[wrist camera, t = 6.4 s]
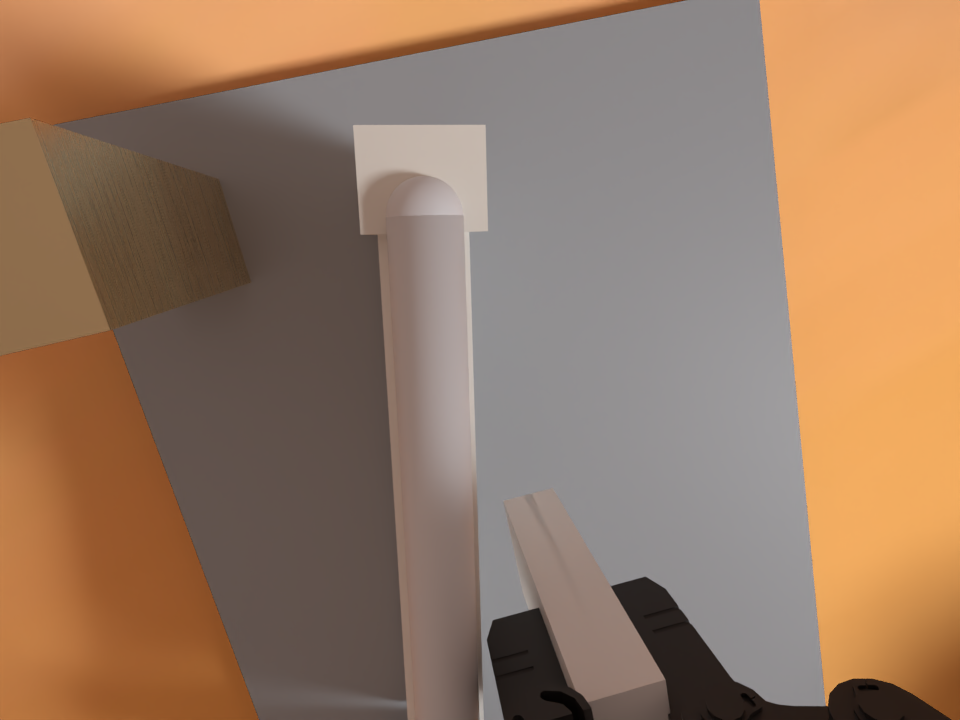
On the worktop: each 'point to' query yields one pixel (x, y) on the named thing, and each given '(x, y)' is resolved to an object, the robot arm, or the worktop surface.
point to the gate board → (495, 349)
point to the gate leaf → (430, 394)
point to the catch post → (102, 236)
